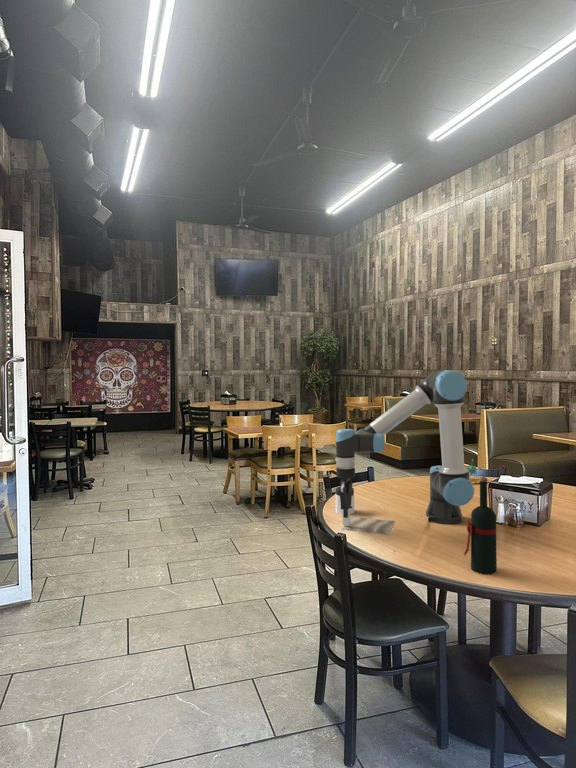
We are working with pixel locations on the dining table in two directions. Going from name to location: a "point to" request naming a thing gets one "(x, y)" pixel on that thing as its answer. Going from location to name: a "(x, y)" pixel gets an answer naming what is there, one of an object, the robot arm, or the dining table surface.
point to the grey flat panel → (383, 528)
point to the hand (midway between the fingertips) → (346, 524)
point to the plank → (356, 524)
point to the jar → (338, 504)
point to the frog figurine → (473, 470)
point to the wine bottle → (482, 535)
